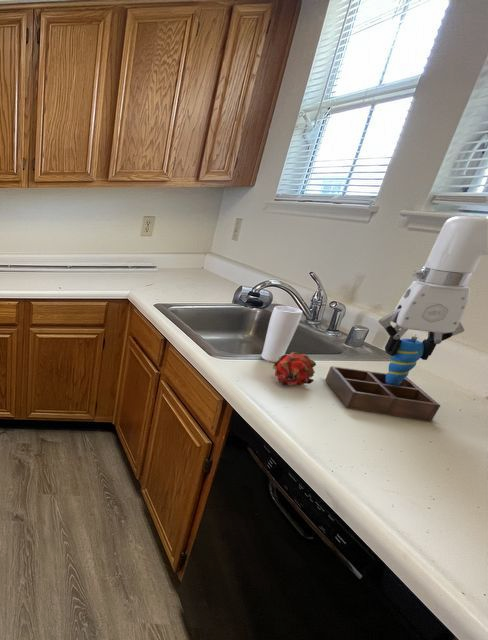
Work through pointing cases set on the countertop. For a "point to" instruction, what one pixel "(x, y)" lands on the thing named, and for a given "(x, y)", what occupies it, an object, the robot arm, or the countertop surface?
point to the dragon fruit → (294, 369)
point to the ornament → (404, 360)
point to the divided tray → (380, 394)
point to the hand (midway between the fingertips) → (405, 355)
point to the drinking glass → (280, 332)
